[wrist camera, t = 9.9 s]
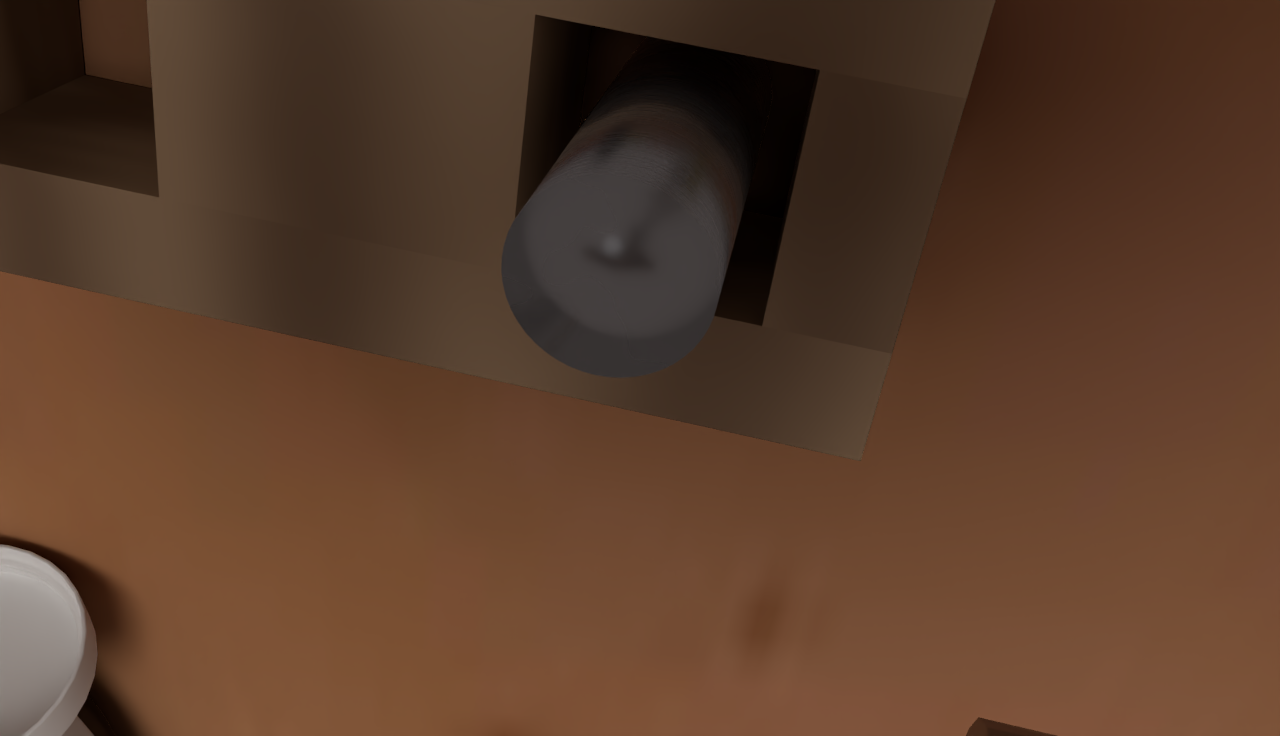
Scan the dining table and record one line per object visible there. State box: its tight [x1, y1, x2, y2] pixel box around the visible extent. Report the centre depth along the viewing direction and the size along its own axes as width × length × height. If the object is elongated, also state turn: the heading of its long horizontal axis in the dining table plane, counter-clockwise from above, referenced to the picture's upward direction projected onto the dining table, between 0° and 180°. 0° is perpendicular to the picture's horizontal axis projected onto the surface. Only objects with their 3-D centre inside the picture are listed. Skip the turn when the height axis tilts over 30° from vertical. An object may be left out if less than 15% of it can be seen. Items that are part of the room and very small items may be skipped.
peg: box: [501, 36, 772, 378], centre depth 20 cm, size 3×3×9 cm
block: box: [0, 0, 996, 461], centre depth 22 cm, size 20×9×5 cm, turn 81°
